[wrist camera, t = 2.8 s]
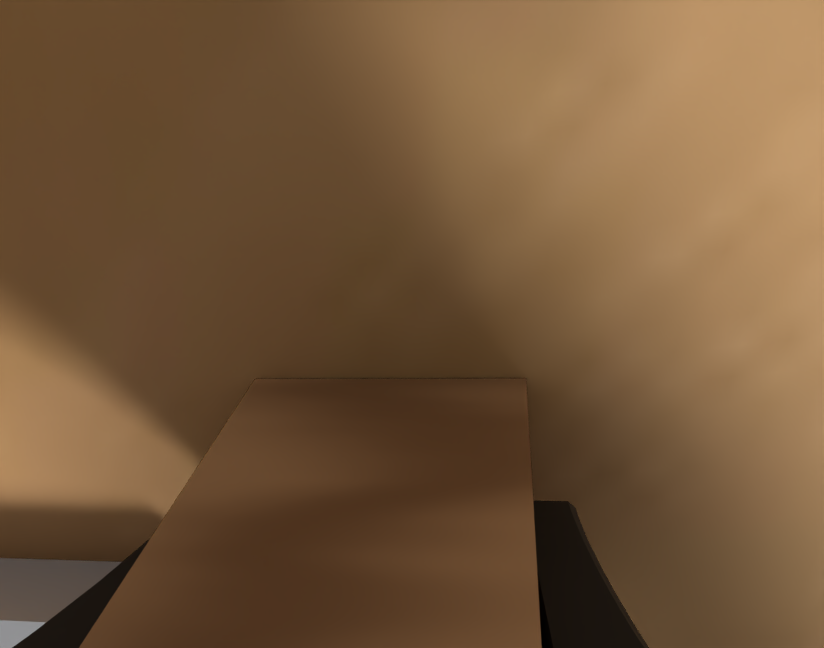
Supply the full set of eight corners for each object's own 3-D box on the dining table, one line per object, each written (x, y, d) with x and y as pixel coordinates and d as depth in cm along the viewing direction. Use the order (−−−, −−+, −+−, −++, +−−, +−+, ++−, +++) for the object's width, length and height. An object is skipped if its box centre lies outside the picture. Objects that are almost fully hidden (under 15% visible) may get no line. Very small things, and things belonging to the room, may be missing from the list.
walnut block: (526, 378, 11) (543, 690, 6) (526, 589, 13) (539, 957, 8) (254, 378, 12) (69, 661, 7) (292, 579, 13) (171, 917, 9)
